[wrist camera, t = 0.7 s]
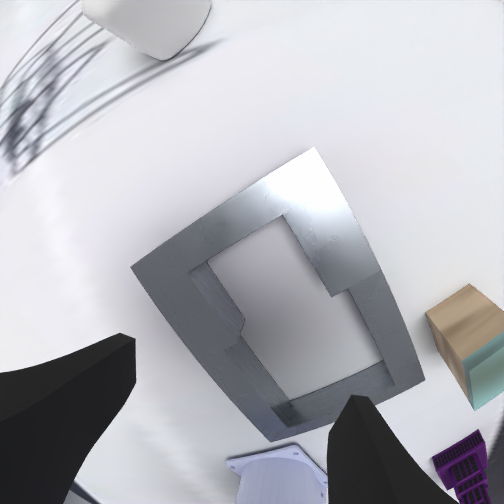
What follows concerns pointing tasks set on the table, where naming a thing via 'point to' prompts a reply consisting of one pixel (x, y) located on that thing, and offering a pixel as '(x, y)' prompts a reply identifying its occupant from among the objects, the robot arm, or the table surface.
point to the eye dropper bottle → (150, 22)
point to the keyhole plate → (231, 320)
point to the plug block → (471, 343)
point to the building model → (465, 469)
